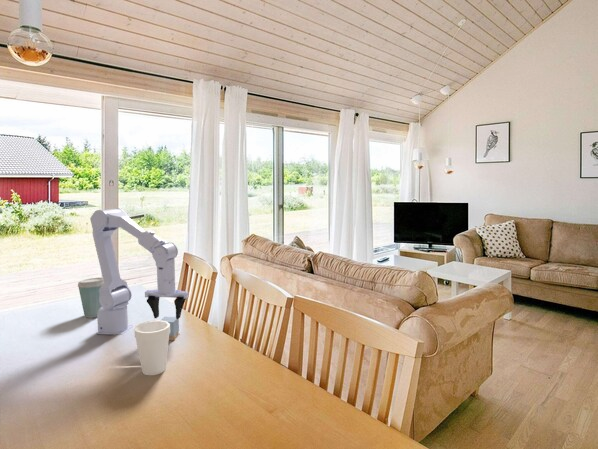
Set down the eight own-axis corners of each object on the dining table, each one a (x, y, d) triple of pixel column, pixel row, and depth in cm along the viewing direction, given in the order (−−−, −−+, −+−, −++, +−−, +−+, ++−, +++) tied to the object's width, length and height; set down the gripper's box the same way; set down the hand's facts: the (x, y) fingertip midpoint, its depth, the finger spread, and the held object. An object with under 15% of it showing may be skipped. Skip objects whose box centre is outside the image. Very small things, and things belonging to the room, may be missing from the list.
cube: (159, 336, 131) (158, 321, 130) (165, 330, 136) (164, 316, 135) (173, 336, 131) (173, 322, 130) (179, 330, 136) (178, 317, 135)
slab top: (156, 340, 130) (156, 337, 130) (161, 333, 136) (161, 330, 136) (174, 340, 131) (174, 336, 130) (178, 333, 137) (178, 329, 136)
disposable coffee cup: (72, 318, 152) (70, 281, 150) (94, 309, 162) (92, 274, 161) (94, 321, 149) (92, 283, 147) (115, 312, 159) (113, 276, 158)
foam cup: (178, 366, 113) (176, 323, 112) (154, 381, 105) (152, 335, 104) (154, 359, 117) (152, 318, 116) (129, 373, 109) (127, 329, 107)
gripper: (139, 281, 127) (141, 321, 129) (182, 282, 126) (183, 322, 128) (149, 276, 134) (150, 313, 136) (190, 277, 133) (191, 315, 135)
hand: (167, 317), depth 132 cm, fingers open, 7 cm apart
